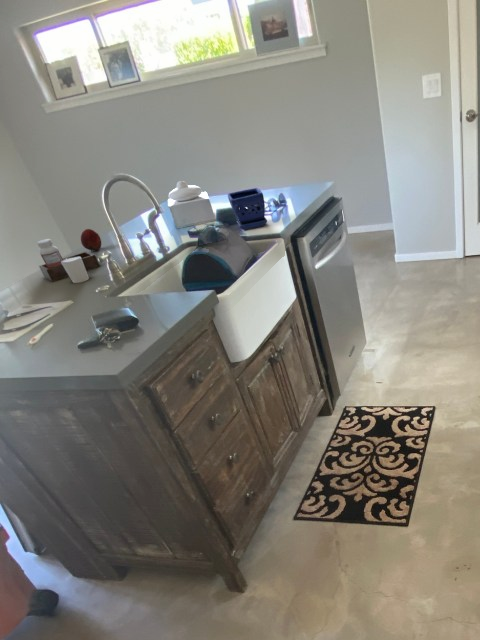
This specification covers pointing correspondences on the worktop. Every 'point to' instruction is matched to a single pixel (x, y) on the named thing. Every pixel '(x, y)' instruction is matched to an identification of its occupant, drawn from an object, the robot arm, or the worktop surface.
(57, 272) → the brown wooden tray
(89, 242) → the apple
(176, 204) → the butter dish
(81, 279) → the white cup
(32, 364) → the worktop surface
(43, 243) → the pill bottle
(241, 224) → the flower pot
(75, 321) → the worktop surface
